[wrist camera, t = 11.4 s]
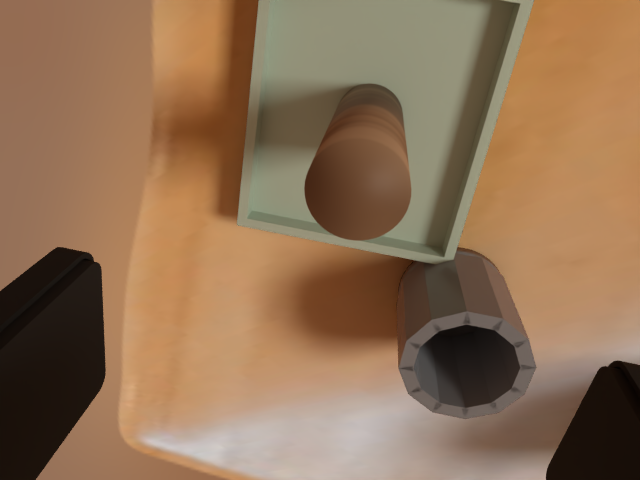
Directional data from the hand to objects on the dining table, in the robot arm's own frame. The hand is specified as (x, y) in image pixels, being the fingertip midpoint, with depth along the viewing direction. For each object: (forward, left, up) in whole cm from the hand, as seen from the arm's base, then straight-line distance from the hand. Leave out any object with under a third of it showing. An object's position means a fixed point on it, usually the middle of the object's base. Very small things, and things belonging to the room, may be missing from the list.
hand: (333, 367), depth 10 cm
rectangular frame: (0, 0, -24) cm, 24 cm away
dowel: (0, 0, -24) cm, 24 cm away
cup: (+11, +8, -24) cm, 28 cm away
